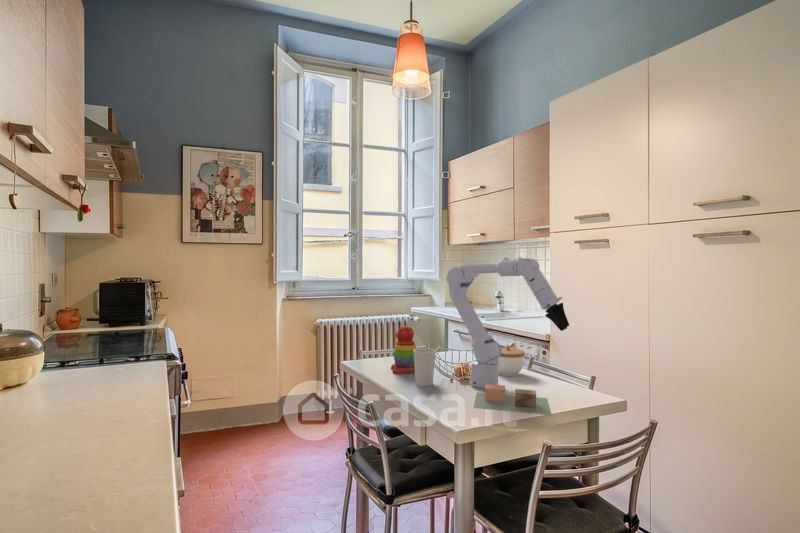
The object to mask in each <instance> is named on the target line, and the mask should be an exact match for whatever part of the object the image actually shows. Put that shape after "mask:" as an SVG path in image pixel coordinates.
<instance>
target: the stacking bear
mask: <svg viewBox="0 0 800 533" xmlns="http://www.w3.org/2000/svg"><path fill="white" fill-rule="evenodd" d="M414 336H415V332H414V329H413V327H411V326H407V325H403V326H401V327H399V329H397V331H396V332H395V338H396V339H397V341H396V343H395V346H394V351H393V360H394V363H393V364H391V367H390V369H391V370H392V373H393V374H396V375H406V374H407V375H408V374H412V373H414V374H415V366H414V349H418V347H417V344H416V343H415V341H414V340H413V339H414Z"/></svg>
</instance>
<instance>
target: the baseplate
mask: <svg viewBox="0 0 800 533" xmlns="http://www.w3.org/2000/svg"><path fill="white" fill-rule="evenodd" d="M473 408H474V409H482V410H493V411H502V412H503V411H504V412H515V413H525V414H526V413H527V414H535V415H545V416H546V415H548V416H551V415H553V414H552V411H551V408H550V404H549V401H548V398H546V397H537V396H536V408H527V407H516V406H515V395H512V394H505V402H493V401H485V392H476V395H475V399H474V404H473Z"/></svg>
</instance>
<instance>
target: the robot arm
mask: <svg viewBox="0 0 800 533" xmlns="http://www.w3.org/2000/svg"><path fill="white" fill-rule="evenodd" d="M492 273H493V274H495V273H497V274H498V275H499V276H500V277H523V279H524V280H525V281H526V282H525V283H526V284H527V286H528V287H529V289H530V290H531V292H532V294H533V296H534V297H535V299H536V301H537V302H538V304H539V306H540V308H541V310H544V311H545V312H546V313H547V314H545V317H546V318H548V319H549V320H550V321H551V322H552V323H553V324H554V325H555V326H556V327H557V328H558V329H559V330H560V331H561V332H562V331H564V330H567V329H568V327H569V326H570V323H569V321H568V318H567V315H566V312H565V309H564V302H560V300H563V297H562V296H559V297H557V295H556V292H554V290H553V288H552V287H551V285H550V284H549V282H548V280H547V279H546V277H545V276H544V274H543V273H542V271H541V270H540V264H539V262H538V261H537V259H534V258H530V257H529V258H528V257H527V258H525V257H524V258H522V257H521V256H520V257H517V258H511V259H510V258H509V257H503V259H500V260H499V261H498V262H497V263H470V264H463V265H459V266H452V267H451V268H449V270H448V272H447V275H446V278H445V279H446V281H447V283H448V292H449V297H450V299H451V301H452V303H453V305H454V306H455V309H456V310H457V312H458V314H459V316H460V318H461V319H462V322H463V324H464V326H465V327H466V329H467V331H468V333H469V334H470V336H471V338H472V342H471V347H472V349H473V354H474V355H473V356H474V358H475V360H472V361H471V365H470V366H471V367H470V387H472V388H473V387H474V388H475V387H476V388H483V389H485V386H486V384H491V385H499V374H498V358H499V357H500V355H501V353H502V349H501V348H502V347H501V345H500V343H499V342H498V341H496V339H495V338H494V337H493V335H491V334H489V333H488V332H487V331H486V329H485V327H484V324H482V321H481V319H480V318H479V316H478V314H477V312H476V310H475V309H474V306H473V305H472V303H471V302H470V300H469V298H468V295H467V292H468V289H469V288H470V286H471V285H472V283H473V281H474V280H475V278H477V277H478V276H479V275H480V274H492ZM558 302H560V303H559V304H558Z"/></svg>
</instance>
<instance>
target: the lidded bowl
mask: <svg viewBox="0 0 800 533" xmlns="http://www.w3.org/2000/svg"><path fill="white" fill-rule="evenodd" d="M501 349H502V353H501V355H500V357H499V358H498V375H500V376H505V377H516V376H518V374H519V373H520V372H521V371H522V369H523V367H524V364H525V356H526V354H525V353H526V352H525V351H524V350H523V349H519V348H513V347H511V346H510V345H506V347H501Z"/></svg>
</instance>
